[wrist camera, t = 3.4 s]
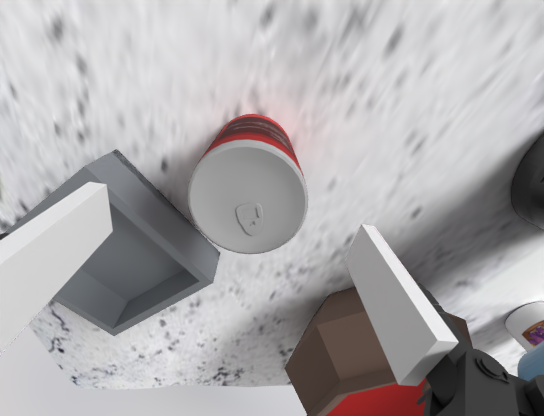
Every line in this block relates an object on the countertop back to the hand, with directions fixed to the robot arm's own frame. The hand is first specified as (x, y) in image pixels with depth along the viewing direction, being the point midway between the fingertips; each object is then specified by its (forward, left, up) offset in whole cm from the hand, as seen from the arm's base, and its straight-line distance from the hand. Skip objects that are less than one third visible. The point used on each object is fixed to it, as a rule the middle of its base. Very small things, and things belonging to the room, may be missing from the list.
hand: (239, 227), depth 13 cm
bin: (0, +19, -14) cm, 23 cm away
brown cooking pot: (-30, +1, -14) cm, 33 cm away
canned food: (0, 0, -14) cm, 14 cm away
